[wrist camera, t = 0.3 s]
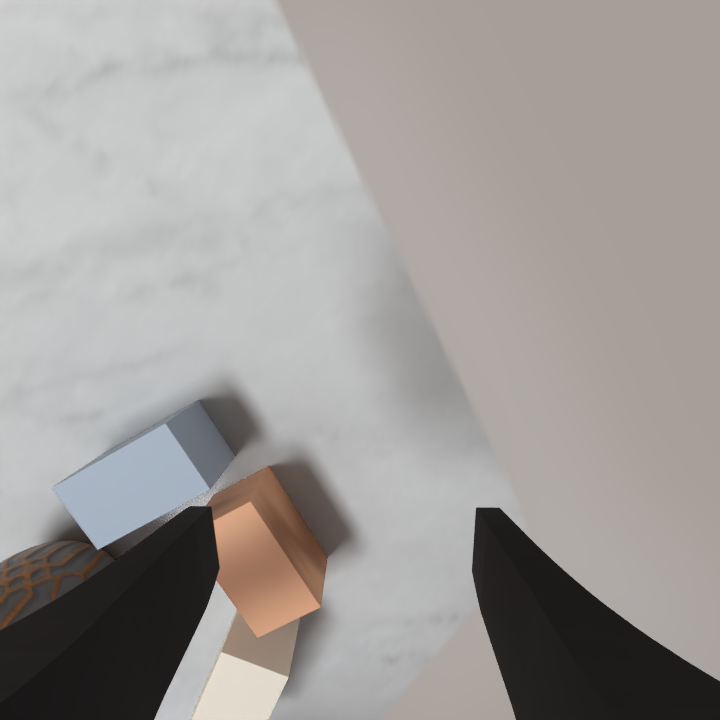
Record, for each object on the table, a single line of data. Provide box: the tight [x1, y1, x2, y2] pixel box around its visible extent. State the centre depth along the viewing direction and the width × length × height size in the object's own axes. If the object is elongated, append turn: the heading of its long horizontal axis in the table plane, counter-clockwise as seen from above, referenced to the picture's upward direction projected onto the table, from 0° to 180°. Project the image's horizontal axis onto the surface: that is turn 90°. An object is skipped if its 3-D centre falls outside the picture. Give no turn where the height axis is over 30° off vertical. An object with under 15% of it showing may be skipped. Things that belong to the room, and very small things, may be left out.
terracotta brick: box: [206, 466, 328, 638], centre depth 20 cm, size 6×3×4 cm, turn 29°
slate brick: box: [51, 400, 235, 550], centre depth 20 cm, size 6×3×4 cm, turn 120°
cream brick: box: [190, 610, 300, 720], centre depth 22 cm, size 6×3×4 cm, turn 156°
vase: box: [0, 541, 115, 630], centre depth 18 cm, size 7×7×9 cm
